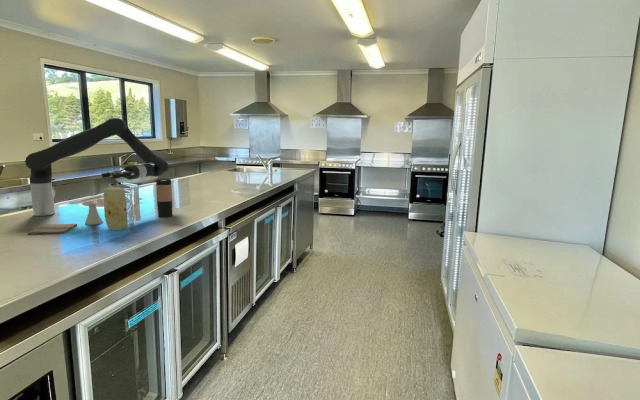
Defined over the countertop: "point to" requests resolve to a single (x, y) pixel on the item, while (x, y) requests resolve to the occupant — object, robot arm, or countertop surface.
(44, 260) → the countertop surface
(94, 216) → the flask
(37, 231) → the walnut board
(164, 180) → the travel mug
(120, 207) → the food model
